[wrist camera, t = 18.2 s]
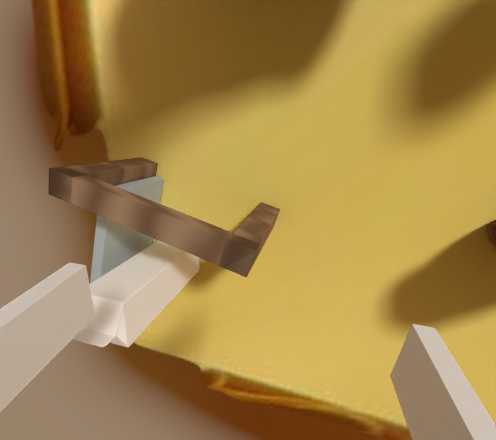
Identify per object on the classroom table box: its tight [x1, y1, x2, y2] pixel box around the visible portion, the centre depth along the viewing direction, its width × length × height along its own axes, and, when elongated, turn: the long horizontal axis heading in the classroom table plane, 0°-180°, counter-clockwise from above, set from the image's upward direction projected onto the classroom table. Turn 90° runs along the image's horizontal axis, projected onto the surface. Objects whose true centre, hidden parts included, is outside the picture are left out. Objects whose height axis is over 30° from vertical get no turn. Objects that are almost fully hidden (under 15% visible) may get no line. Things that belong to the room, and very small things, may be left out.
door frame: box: [49, 158, 280, 277], centre depth 35 cm, size 24×3×16 cm, turn 73°
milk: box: [73, 240, 200, 347], centre depth 37 cm, size 6×6×22 cm
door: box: [90, 176, 164, 284], centre depth 41 cm, size 16×3×12 cm, turn 163°
